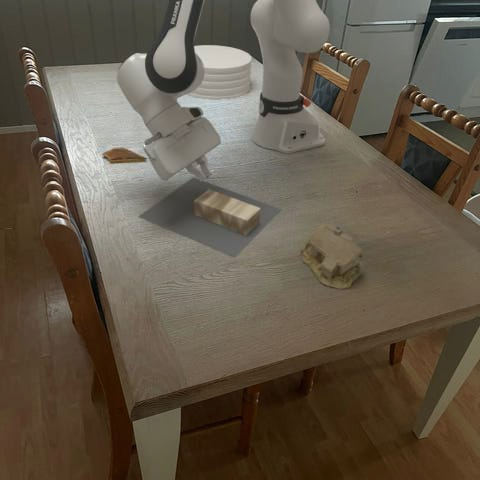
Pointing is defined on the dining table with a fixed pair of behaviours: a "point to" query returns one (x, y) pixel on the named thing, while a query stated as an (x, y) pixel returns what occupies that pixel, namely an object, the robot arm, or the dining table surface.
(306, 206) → the dining table surface
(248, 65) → the plate stack
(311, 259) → the ceramic model
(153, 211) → the rubber mat
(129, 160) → the shard
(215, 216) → the birch block
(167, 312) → the dining table surface
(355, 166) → the dining table surface
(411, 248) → the dining table surface
